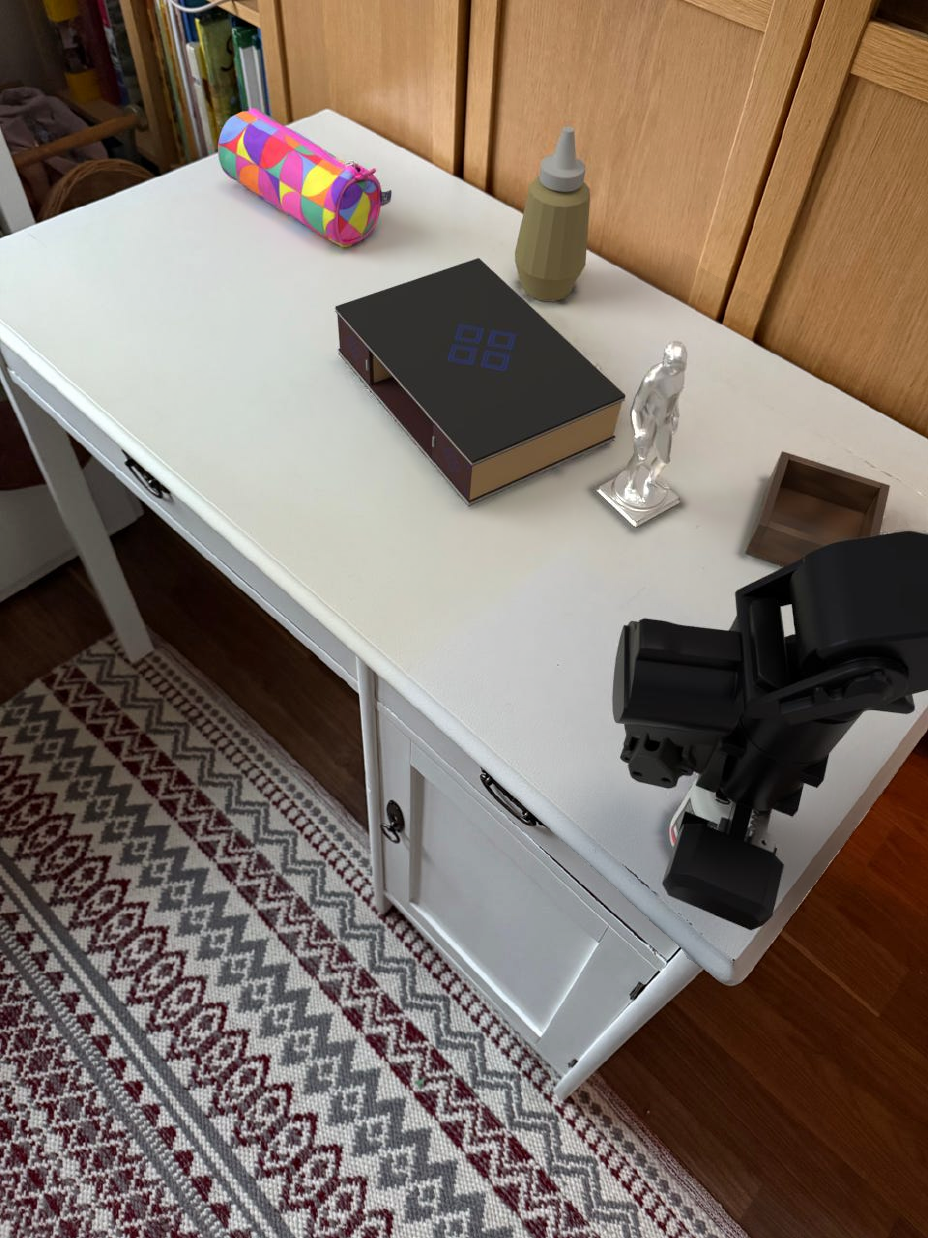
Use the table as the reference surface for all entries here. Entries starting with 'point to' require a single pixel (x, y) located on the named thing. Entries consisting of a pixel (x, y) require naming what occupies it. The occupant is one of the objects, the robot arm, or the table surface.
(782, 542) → the holder
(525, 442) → the book
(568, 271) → the squeeze bottle
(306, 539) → the table surface
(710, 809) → the pill bottle
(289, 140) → the pencil case
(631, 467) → the figurine
